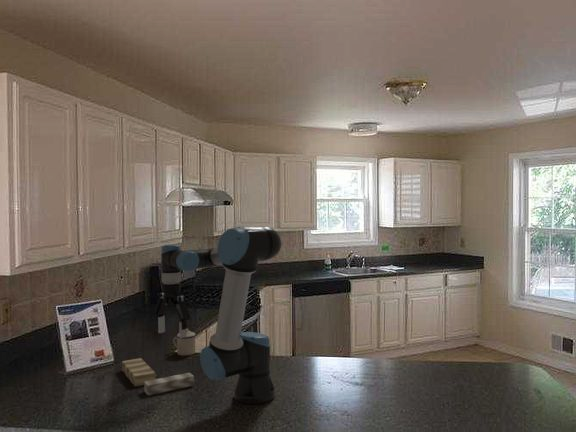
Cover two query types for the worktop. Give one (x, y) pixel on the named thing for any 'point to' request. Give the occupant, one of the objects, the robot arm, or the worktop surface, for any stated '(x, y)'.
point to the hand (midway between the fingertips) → (172, 335)
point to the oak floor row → (138, 371)
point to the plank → (168, 383)
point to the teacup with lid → (185, 344)
